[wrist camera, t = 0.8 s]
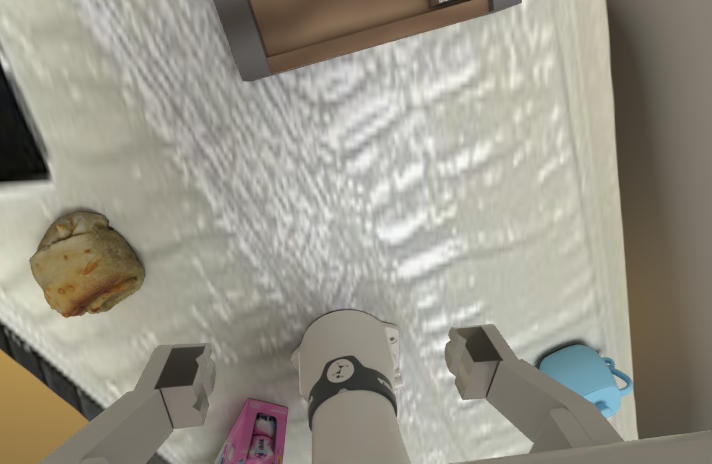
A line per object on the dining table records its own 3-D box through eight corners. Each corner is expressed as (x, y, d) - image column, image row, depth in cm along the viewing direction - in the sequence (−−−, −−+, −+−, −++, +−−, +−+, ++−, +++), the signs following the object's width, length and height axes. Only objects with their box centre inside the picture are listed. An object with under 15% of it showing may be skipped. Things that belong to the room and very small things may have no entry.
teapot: (542, 415, 54) (650, 373, 53) (507, 365, 64) (598, 328, 63) (554, 456, 60) (652, 419, 58) (520, 404, 69) (604, 371, 68)
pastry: (140, 309, 50) (111, 348, 43) (43, 287, 47) (-6, 325, 40) (158, 228, 45) (128, 256, 38) (52, 197, 42) (-3, 221, 35)
